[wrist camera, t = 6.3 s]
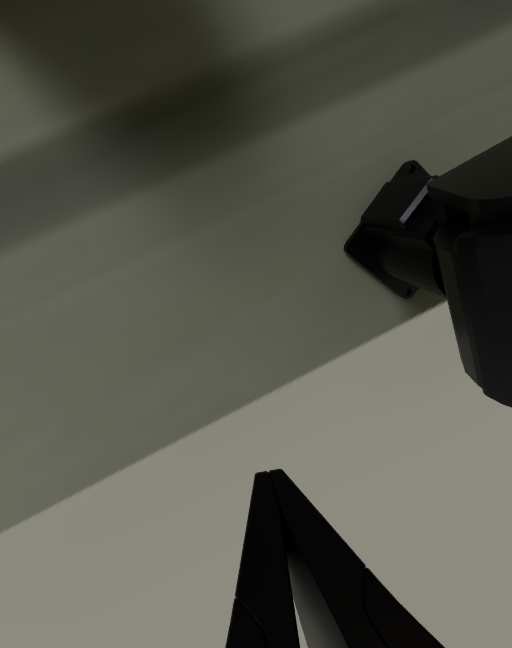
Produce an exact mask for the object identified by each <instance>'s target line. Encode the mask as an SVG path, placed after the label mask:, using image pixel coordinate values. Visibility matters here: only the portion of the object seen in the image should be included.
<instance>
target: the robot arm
mask: <svg viewBox="0 0 512 648" xmlns="http://www.w3.org/2000/svg"><path fill="white" fill-rule="evenodd" d="M409 166H410V167H411V173H410V174H409V173H408V168H409ZM352 244H354V245H355V248H354V250H352V251H351V250H350V247H351V245H352ZM344 251H345V253H346V254H347V255H349V256H350V257H351V258H352V259H354V260H355V261H356V262H358V263H359V264H360V265H361V266H363V267H364V268H365V269H366V270H368V271H369V272H370V273H371V274H373V275H374V276H375V277H376V278H378V279H379V280H380V281H381V282H383V283H384V284H385V285H387V286H388V287H389V288H390V289H392V290H393V291H394V292H395V293H397V294H398V295H399V296H401V297H403V298H405V299H408V298H411V297H412V296H413V295H414V293H415V292H416V291H417V290H418V289H419V288H422V289H424V290H427V291H430V292H432V293H435V294H438V295H440V296H443V297H446V298H447V301H448V305H449V309H450V314H451V318H452V322H453V326H454V331H455V335H456V339H457V343H458V348H459V352H460V357H461V360H462V363H463V366H464V369H465V372H466V373H467V374H468V375H469V376H470V377H471V378H472V379H473V380H474V382H476V384H477V385H478V386H480V387H481V388H482V389H483V393H484V394H485V395H486V396H488V397H490V398H492V399H494V400H496V401H497V402H499V403H501V404H504V405H506V406H509V407H512V136H511V137H509V138H508V139H506V140H504V141H502V142H500V143H499V144H497V145H495V146H493V147H491V148H490V149H488V150H486V151H484V152H482V153H481V154H479V155H477V156H475V157H473V158H472V159H470V160H468V161H466V162H464V163H463V164H461V165H459V166H457V167H456V168H454V169H452V170H450V171H448V172H447V173H445V174H443V175H441V176H437V175H435V176H430V175H429V174H428V173H427V172H426V171H425V170H424V169H423V167H422V166H421V165H420V164H419V163H418V162H417V161H415V160H411V161H407V162H405V163H404V164H403V165H402V166H401V168H400V169H399V170H398V172H397V173H396V174H395V176H394V177H393V179H392V180H391V181H390V182H386V183H385V185H384V186H383V187H382V189H381V190H380V192H379V193H378V194H377V196H376V197H375V198H374V200H373V201H372V203H371V204H370V205H369V207H368V208H367V209H366V211H365V212H364V214H363V215H362V216H361V222H360V224H359V225H358V226H357V228H356V229H355V231H354V232H353V233H352V235H351V236H350V237H349V239H348V240H347V242H346V243H345V245H344ZM407 289H408V291H407V293H406V294H405V291H406V290H407ZM293 599H294V602H295V605H296V609H297V612H298V615H299V618H300V622H301V625H302V629H303V632H304V635H305V639H306V642H307V646H308V648H445V647H444V646H443V645H442V644H441V643H440V642H439V641H438V640H437V639H436V638H434V636H433V635H431V634H430V633H429V632H428V631H427V630H426V629H425V628H424V627H423V626H422V625H421V624H420V623H419V622H418V621H417V620H416V619H415V618H414V617H413V616H412V615H411V614H410V613H409V612H408V611H407V610H406V609H405V608H404V607H403V606H402V605H401V604H400V603H399V602H398V601H397V600H396V599H395V597H394V596H393V595H392V594H391V593H390V592H389V591H388V590H387V589H386V588H385V587H384V585H382V583H381V582H380V581H379V580H378V579H377V578H376V576H375V575H374V574H373V573H372V572H371V571H370V569H368V568H366V565H365V564H364V563H363V562H362V561H361V559H360V558H359V557H358V556H357V555H356V554H355V553H354V551H353V550H352V549H351V548H350V547H349V546H348V544H347V543H346V542H345V541H344V540H343V539H342V538H341V536H340V535H339V534H338V533H337V532H336V531H335V530H334V528H333V527H332V526H331V525H330V524H329V523H328V522H327V520H326V519H325V518H324V517H323V516H322V515H321V513H320V512H319V511H318V510H317V509H316V508H315V507H314V506H313V504H312V503H311V502H310V501H309V500H308V499H307V497H306V496H305V495H304V494H303V493H302V492H301V491H300V489H299V488H298V487H297V486H296V485H295V484H294V482H293V481H292V480H291V479H290V478H289V477H288V476H287V474H285V472H284V471H283V470H282V469H276V470H270V471H269V473H268V472H267V471H264V472H258V473H256V474H255V477H254V484H253V490H252V496H251V502H250V508H249V514H248V520H247V526H246V532H245V538H244V544H243V550H242V556H241V562H240V569H239V574H238V581H237V586H236V592H235V599H234V603H233V609H232V616H231V622H230V626H229V631H228V637H227V643H226V647H225V648H300V644H299V637H298V630H297V623H296V616H295V609H294V602H293Z"/></svg>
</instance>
